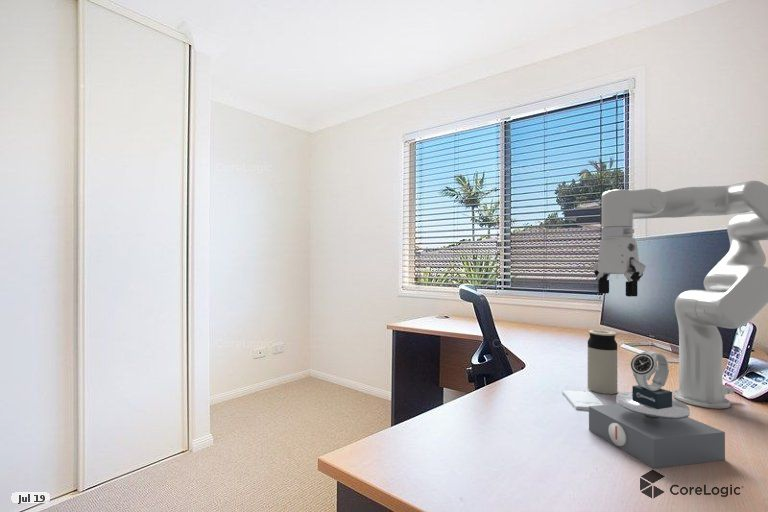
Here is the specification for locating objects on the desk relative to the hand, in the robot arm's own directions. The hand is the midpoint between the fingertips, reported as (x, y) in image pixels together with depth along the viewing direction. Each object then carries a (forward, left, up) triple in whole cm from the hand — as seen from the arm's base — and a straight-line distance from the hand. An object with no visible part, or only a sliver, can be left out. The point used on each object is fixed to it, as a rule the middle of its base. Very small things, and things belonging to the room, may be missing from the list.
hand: (617, 294), depth 107 cm
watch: (+13, +23, -22) cm, 34 cm away
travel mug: (-4, -10, -31) cm, 32 cm away
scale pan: (+12, +22, -24) cm, 35 cm away
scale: (+12, +22, -30) cm, 39 cm away
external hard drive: (+9, -2, -31) cm, 32 cm away
